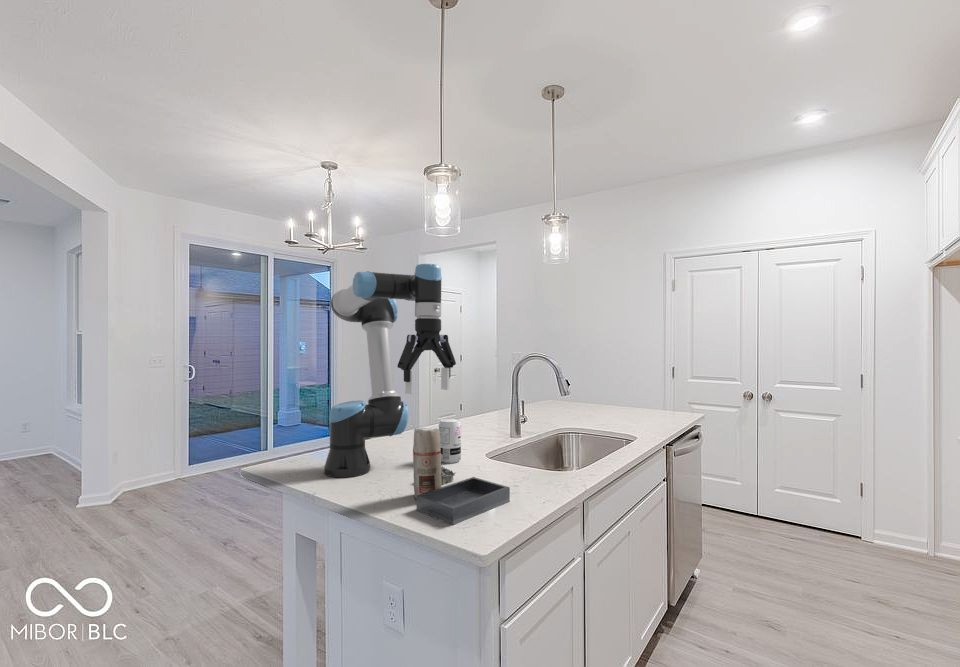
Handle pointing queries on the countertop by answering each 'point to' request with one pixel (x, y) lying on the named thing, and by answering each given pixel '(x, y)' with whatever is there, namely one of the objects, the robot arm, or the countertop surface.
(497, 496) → the grey soap tray
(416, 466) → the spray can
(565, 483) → the countertop surface
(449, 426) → the supplement can
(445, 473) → the potted succulents
